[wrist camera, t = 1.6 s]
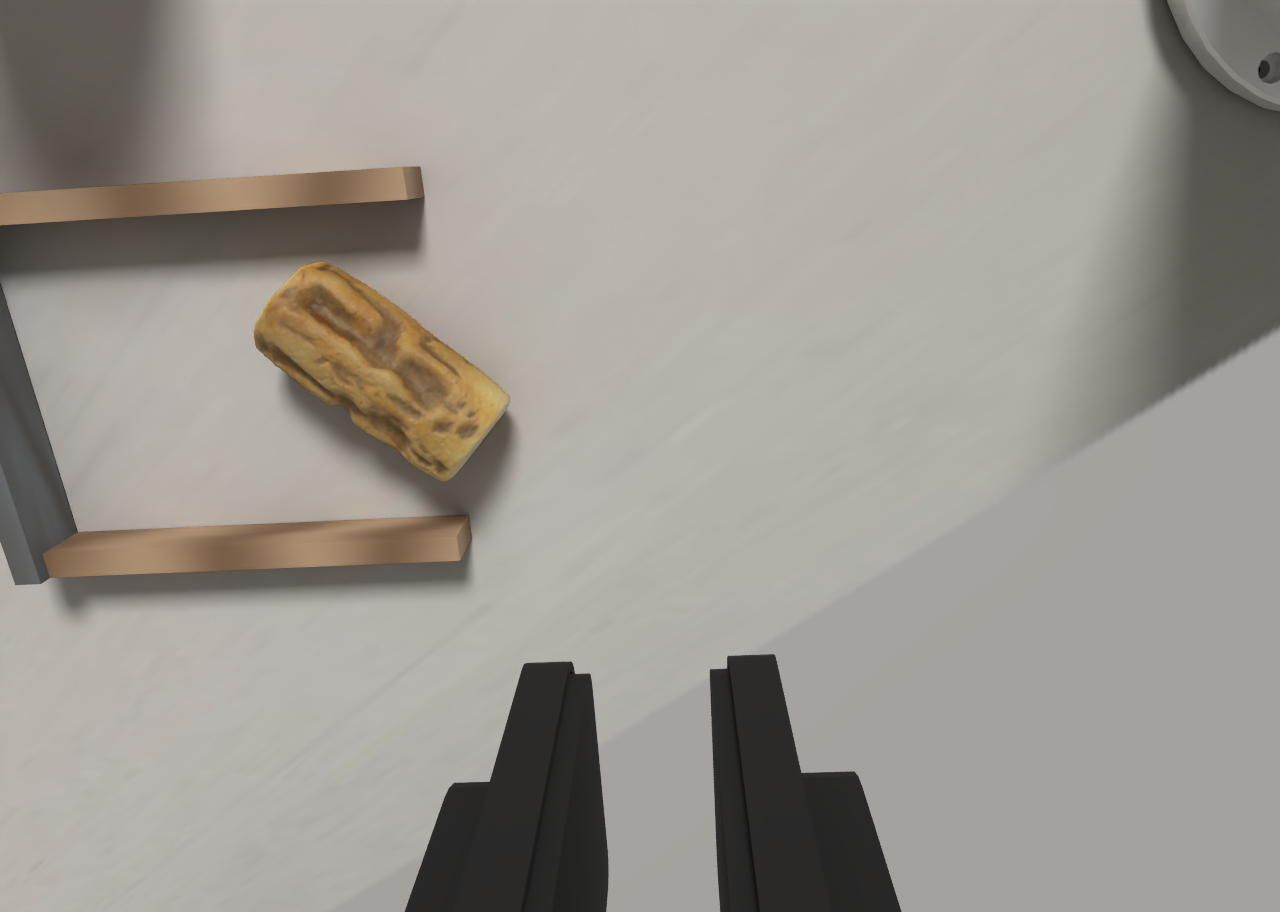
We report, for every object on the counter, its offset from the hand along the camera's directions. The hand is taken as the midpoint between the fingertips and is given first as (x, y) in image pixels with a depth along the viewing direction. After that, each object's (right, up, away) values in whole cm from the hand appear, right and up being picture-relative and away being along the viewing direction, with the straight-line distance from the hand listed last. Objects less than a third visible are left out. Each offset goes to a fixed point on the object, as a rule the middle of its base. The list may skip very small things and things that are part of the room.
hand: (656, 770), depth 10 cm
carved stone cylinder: (-9, +7, +22) cm, 25 cm away
